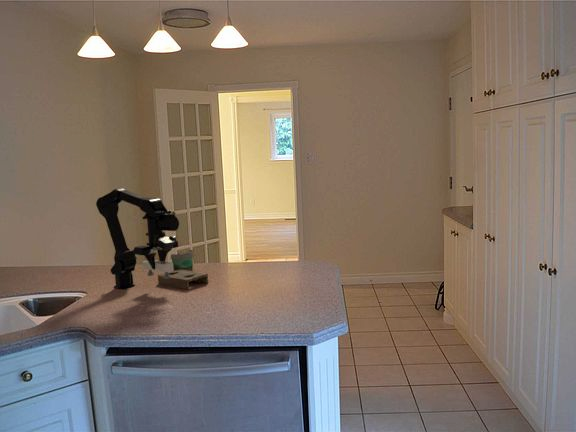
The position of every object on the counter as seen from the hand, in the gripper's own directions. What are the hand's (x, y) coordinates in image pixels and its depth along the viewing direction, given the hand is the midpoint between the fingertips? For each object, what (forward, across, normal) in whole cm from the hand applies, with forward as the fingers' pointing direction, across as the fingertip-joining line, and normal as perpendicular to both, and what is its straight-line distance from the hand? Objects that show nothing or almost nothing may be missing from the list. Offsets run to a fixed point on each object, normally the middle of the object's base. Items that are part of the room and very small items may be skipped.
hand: (158, 267), depth 211 cm
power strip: (+4, 0, 0) cm, 4 cm away
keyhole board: (+10, +13, 0) cm, 16 cm away
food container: (+10, +26, +12) cm, 30 cm away
